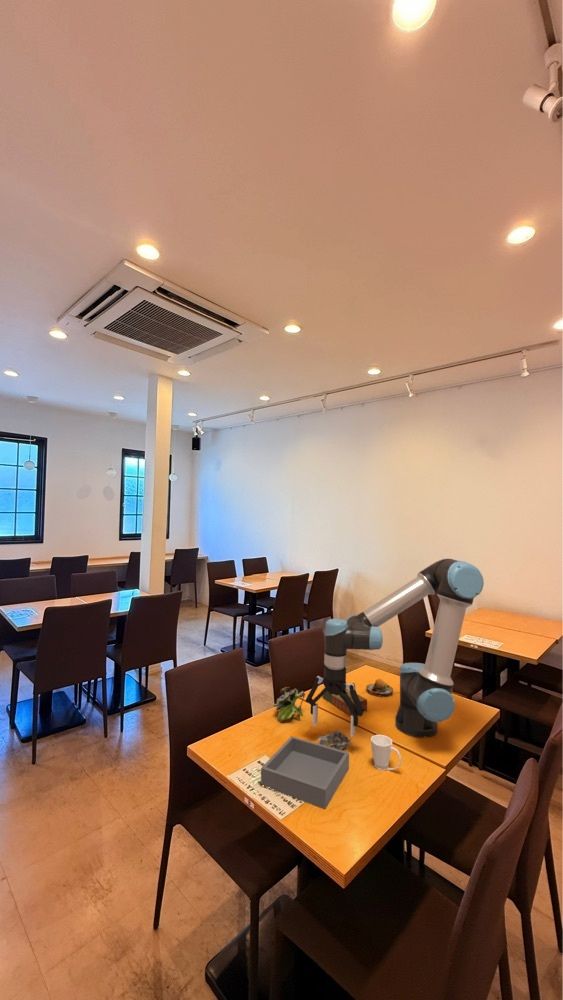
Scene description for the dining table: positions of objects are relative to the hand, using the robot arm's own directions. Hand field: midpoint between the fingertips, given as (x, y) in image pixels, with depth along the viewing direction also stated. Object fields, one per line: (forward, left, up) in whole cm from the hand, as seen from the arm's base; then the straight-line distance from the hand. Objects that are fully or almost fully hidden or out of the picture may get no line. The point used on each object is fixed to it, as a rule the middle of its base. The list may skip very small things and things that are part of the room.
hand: (333, 729), depth 139 cm
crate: (+2, +19, -6) cm, 20 cm away
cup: (-18, +3, -6) cm, 20 cm away
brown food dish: (-2, -53, -7) cm, 54 cm away
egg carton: (0, 0, -7) cm, 7 cm away
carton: (+8, -33, -7) cm, 35 cm away
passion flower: (+23, -13, -6) cm, 27 cm away
